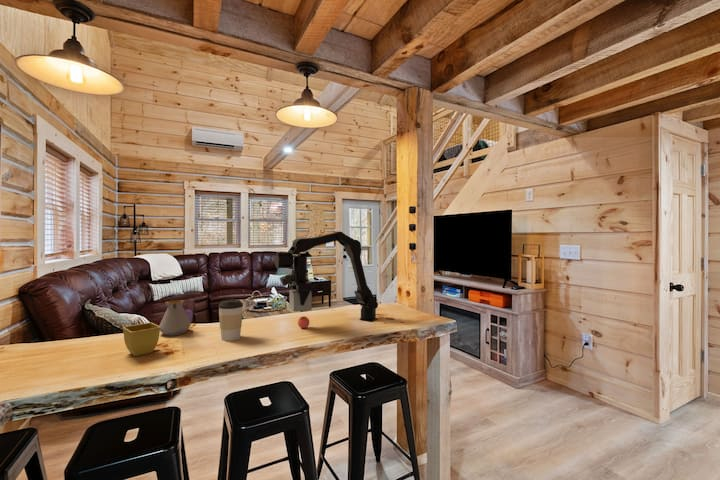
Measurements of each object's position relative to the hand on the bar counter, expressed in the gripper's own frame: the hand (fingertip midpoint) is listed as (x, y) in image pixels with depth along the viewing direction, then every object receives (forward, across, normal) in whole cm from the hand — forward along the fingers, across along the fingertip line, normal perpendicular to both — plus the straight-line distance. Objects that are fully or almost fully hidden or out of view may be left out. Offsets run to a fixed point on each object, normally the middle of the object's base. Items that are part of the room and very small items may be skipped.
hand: (299, 303), depth 143 cm
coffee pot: (+11, -9, -48) cm, 50 cm away
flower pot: (+11, +7, -57) cm, 58 cm away
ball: (+8, 0, +2) cm, 9 cm away
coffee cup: (+11, +2, -28) cm, 30 cm away
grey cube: (+2, 0, 0) cm, 2 cm away
